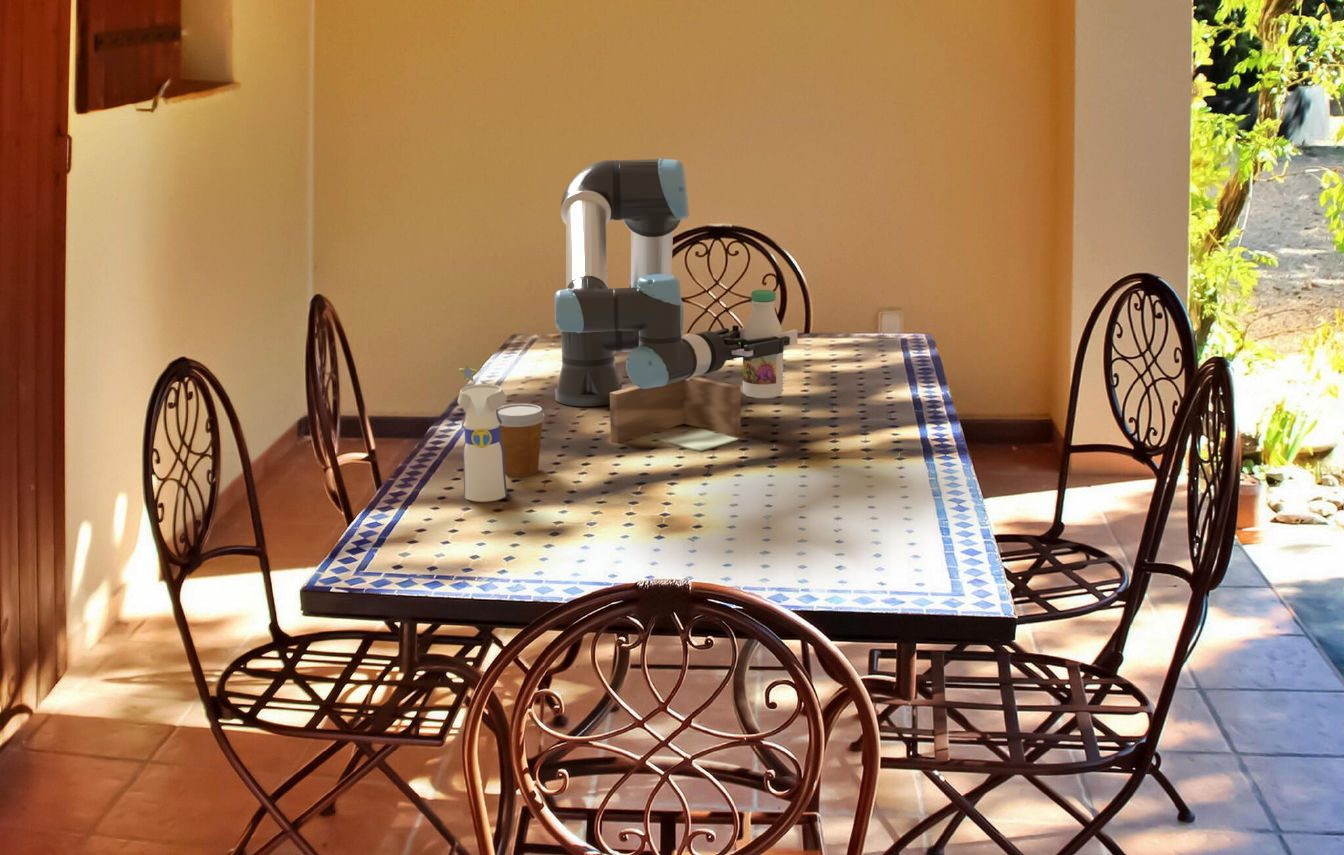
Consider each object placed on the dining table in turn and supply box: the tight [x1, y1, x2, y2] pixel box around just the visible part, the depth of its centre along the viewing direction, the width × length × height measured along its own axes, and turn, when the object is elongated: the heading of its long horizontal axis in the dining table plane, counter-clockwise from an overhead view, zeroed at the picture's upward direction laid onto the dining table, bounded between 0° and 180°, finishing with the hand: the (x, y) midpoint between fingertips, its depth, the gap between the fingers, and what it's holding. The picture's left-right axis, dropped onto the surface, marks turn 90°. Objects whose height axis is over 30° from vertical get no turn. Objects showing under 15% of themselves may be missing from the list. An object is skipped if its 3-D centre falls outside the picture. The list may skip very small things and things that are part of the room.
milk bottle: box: [742, 289, 784, 399], centre depth 274 cm, size 8×8×20 cm
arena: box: [609, 376, 742, 453], centre depth 287 cm, size 18×21×10 cm
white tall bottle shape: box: [457, 362, 508, 502], centre depth 253 cm, size 8×9×25 cm
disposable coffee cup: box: [498, 403, 545, 477], centre depth 267 cm, size 10×10×12 cm
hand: (779, 333), depth 277 cm, fingers closed on milk bottle, 7 cm apart
